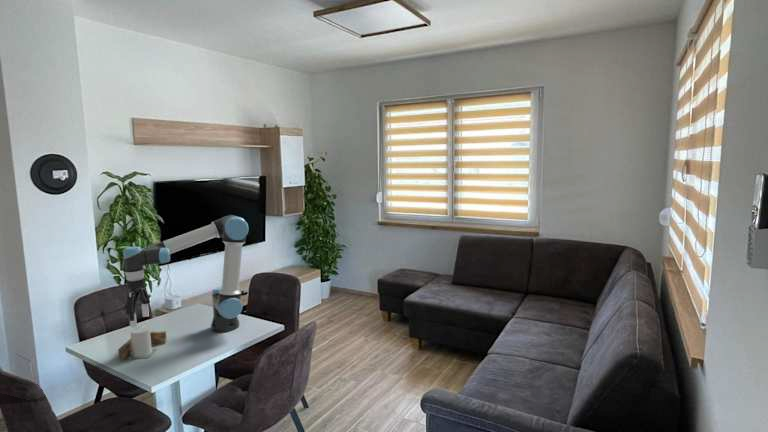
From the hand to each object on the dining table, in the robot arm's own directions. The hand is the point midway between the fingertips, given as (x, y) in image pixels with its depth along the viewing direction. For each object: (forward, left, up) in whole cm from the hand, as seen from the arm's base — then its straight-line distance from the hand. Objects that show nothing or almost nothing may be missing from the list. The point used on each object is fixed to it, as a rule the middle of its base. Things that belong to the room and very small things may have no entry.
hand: (140, 321), depth 205 cm
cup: (0, 0, -17) cm, 17 cm away
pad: (0, 0, -17) cm, 17 cm away
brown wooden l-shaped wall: (+1, -2, -17) cm, 17 cm away
